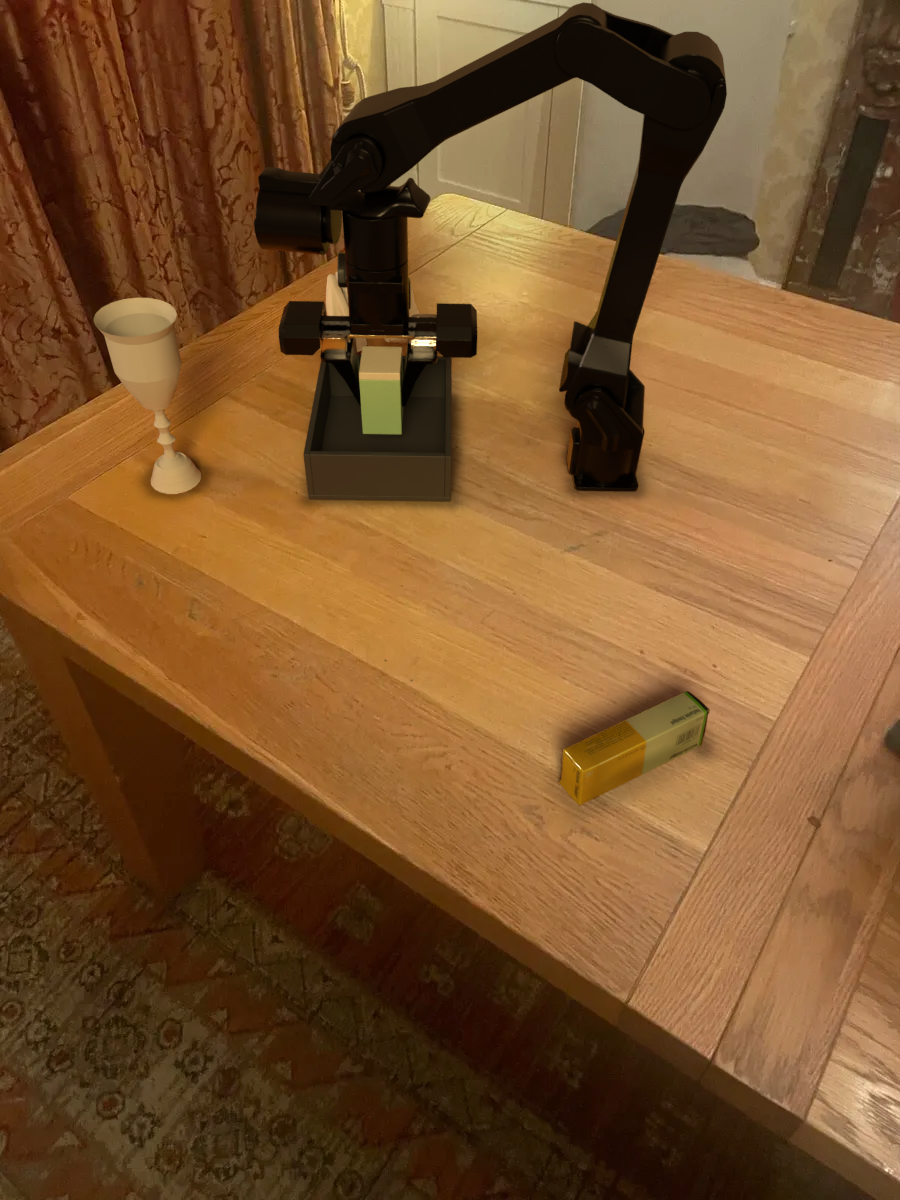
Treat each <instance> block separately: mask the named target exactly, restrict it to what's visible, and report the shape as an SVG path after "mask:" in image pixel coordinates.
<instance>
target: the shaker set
mask: <svg viewBox="0 0 900 1200" xmlns="http://www.w3.org/2000/svg"><path fill="white" fill-rule="evenodd" d="M325 305H326V315H327V316H349V307H348V293H347V288H342V287H339V286H338V273H337V271H335V273H334V274H333V273H329V274H328V275H327V278H326V289H325ZM414 314H421V313H420V311H419V308H418V306H417V303H416V299H415V295H414V290H413V286H412V285H411V308H410V309H409V317H411V316H412V315H414ZM383 340H384V341H385V342H386V343H394V344H400V345H402V344H407V341H408V339H400V338H383ZM356 346H357V353H359V352H362V347H363V346H368V342H367V338H356Z"/></svg>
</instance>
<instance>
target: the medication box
mask: <svg viewBox="0 0 900 1200" xmlns="http://www.w3.org/2000/svg"><path fill="white" fill-rule="evenodd" d="M710 710H711V709H710V708H709V707H708V706H707V705H706V704H705V703H704V702H703V701H702V700H701V699H699V698H698V697H697V696H696V695H694V693H692V692H691V691H689V690H686V691H684V692H682V693H679V694H678V695H675V696H674V697H673V696H672V697H671V698H669V699H667V700H664V701H663V702H660V703H658V704H656V705H654V706H651V707H649V708H648V709H646V710H644V711H642V712H640V713H637V714H634V715H633V716H631V717H629V718H627V719H624V720H622V721H620V722H618V723H616V724H614V725H612V726H609V727H608V728H605V729H603V730H601V731H599V732H597V733H595V734H592V735H591V736H588V737H586V738H584V739H582V740H580V741H578V742H576V743H574V744H572V745H569V746H567V747H565V748H563V750H562V760H561V773H560V775H561V779H560V780H559V782H558V785H560V786H561V787H562V788H563V790H564V791H565V792H566V793H567V795H568V796H569V797H570V798H571V799H572V800H573V801H574V802H575V803H576V804H577V805H578V806H582V805H584V804H586V803H588V802H590V801H592V800H594V799H596V798H599V797H601V796H602V795H604V794H607V793H608V792H610V791H612V790H614V789H616V788H619V787H621V786H623V785H624V784H627V783H630V782H631V781H633V780H635V779H637V778H638V777H641V776H643V775H645V774H647V773H649V772H651V771H653V770H655V769H657V768H659V767H661V766H663V765H665V764H667V763H669V762H671V761H673V760H675V759H677V758H679V757H681V756H683V755H685V754H687V753H689V752H691V751H693V750H696V749H697V748H700V747H702V745H703V744H704V738H705V735H706V734H705V733H706V729H707V723H708V717H709V714H710V712H711V711H710Z"/></svg>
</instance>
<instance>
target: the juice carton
mask: <svg viewBox="0 0 900 1200" xmlns="http://www.w3.org/2000/svg"><path fill="white" fill-rule="evenodd" d="M360 355H361V361H360V368H359V383H360V399H361V414H362V430H363V434H399V435H401V434H402V422H403V408H404V407H403V406H402V398H401V393H402V382H403V365H402V356H403V346H381V345H380V346H379V345H378V346H377V345H375V346H374V345H373V346H372V345H371V346H370V345H366V346H363V347H362V350H361V354H360Z"/></svg>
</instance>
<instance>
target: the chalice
mask: <svg viewBox="0 0 900 1200" xmlns="http://www.w3.org/2000/svg"><path fill="white" fill-rule="evenodd" d="M177 315H178V313H177V310H176V308H175V307H174V306H172V305H171V304H170V303H169V302H166V301H163V300H161V299H158V298H151V297H131V298H123V299H118V300H115V301H111V302H110V303H108V304H106V305H104V306H102V307H101V308H99V310H97V311H96V313H95V314H94V316H93V323H94V326H95V327H96V328H97V329H98V330H99V331H100V332H101V333H102V335H103V336H104V340H105V344H106V346H107V347H106V348H107V351H108V353H109V354H108V355H109V357H110V361H111V364H112V365H111V366H112V368H113V372H114V374H115V375H116V377H117V378H118V379H119V381H120V382H121V384H122V385H123V387H124V388H125V389H126V391H128V392H129V393H130V394H131V396H132V397H133V398H134V399H135V400H136V401H137V402H138V403H139V404H140V405H141V406H142V408H144V409H146V410H148V411H152V412H153V413H154V421H153V426H154V427H155V428H156V429H157V430H158V432H159V435H158V437H157V438H156V443H158V444H160V445H161V446H162V448H163V452H164V453H163V454H162V455H160V456H159V457H158V458H157V459H156V460H155V462H154V464H153V468H152V473H151V474H152V475H151V478H150V484H151V487H152V488H153V489H154V490H155V491H157V492H159V493H162V494H166V495H178V494H182V493H186V492H188V491H191V490H192V489H194V488H196V486H198V484H199V483H200V482H201V480H202V473H201V470H200V469H199V468H198V467H197V466H196V464H195V463H194V462H193V461H192V460H191V458H190V457H189V456H188V455H186V454H184V453H183V452H179V451H175V449H174V443H175V441H176V436H175V435H173V434H172V433H171V431H170V426H171V425H172V421H171V420H170V419H168V417H167V415H166V413H165V409H168V408H169V407H170V406H171V405H172V403H173V401H174V397H175V394H176V392H177V388H178V385H179V381H180V377H181V376H180V375H181V370H182V363H183V362H182V359H181V358H182V357H181V354H180V349H179V344H178V340H177V336H176V332H175V322H176V320H177Z"/></svg>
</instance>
